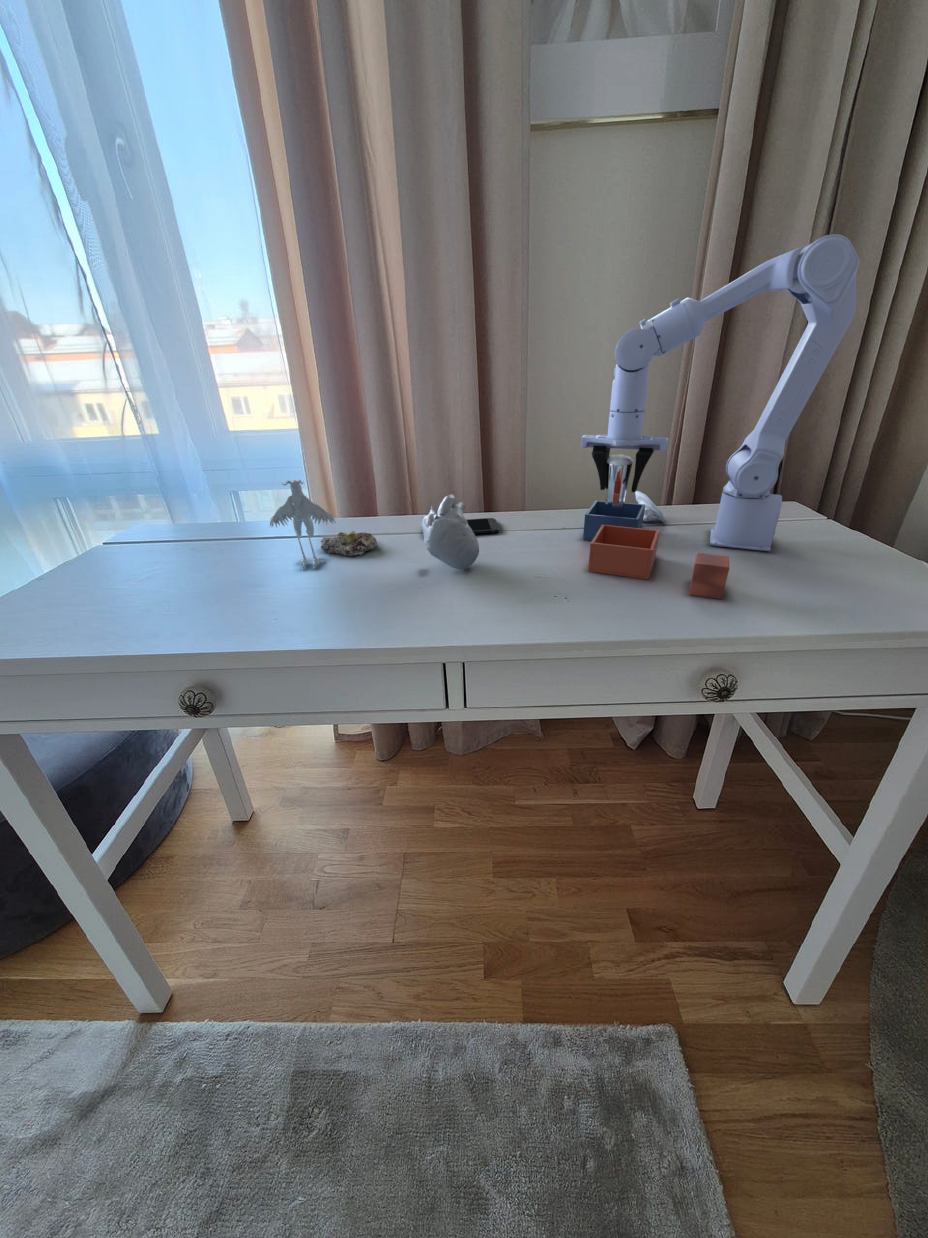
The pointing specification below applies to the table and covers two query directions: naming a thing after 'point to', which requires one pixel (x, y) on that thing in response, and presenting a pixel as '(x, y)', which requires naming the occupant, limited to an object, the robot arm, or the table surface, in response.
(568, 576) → the table surface
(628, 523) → the slate bin
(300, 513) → the figurine
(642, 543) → the terracotta bin
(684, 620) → the table surface
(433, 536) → the heart
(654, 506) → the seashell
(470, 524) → the smartphone
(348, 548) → the mineral rock
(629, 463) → the milkshake
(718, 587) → the block
